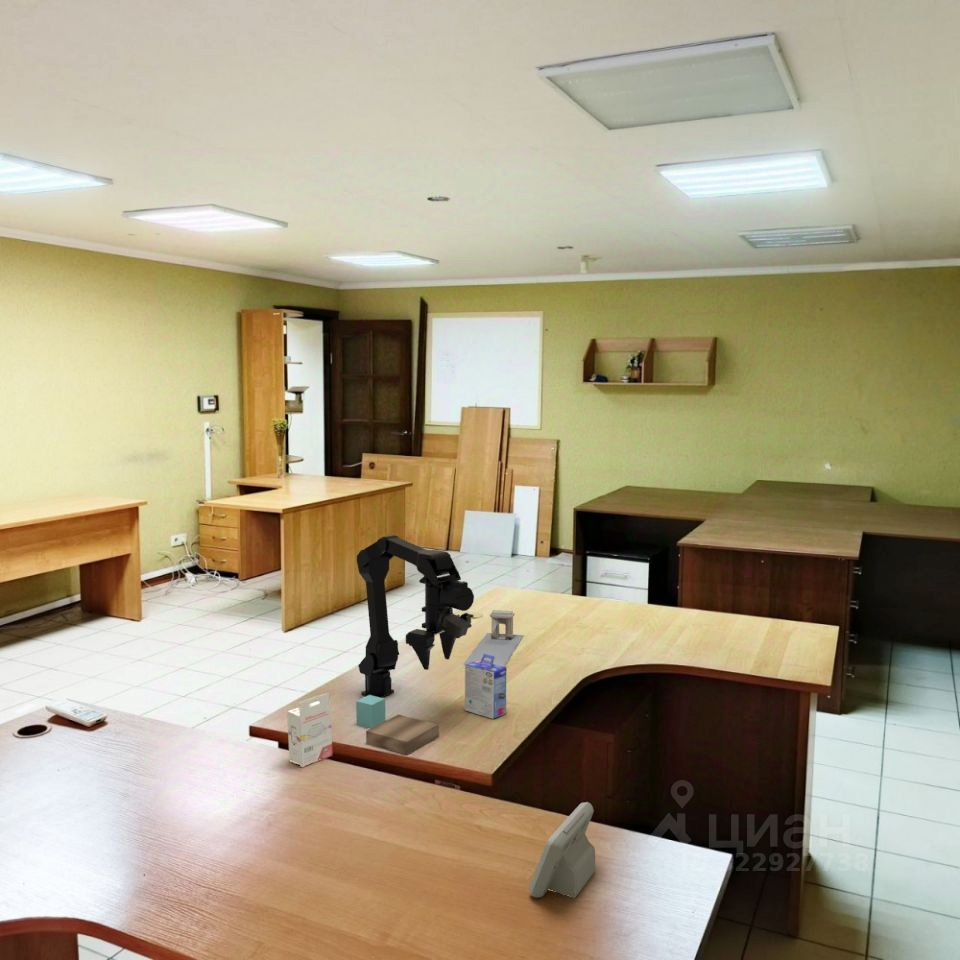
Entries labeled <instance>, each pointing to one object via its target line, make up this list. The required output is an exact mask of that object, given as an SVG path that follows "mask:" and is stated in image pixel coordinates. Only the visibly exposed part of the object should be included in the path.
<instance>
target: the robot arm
mask: <svg viewBox="0 0 960 960" xmlns="http://www.w3.org/2000/svg"><path fill="white" fill-rule="evenodd" d="M451 556H452V555H451V554H450V553H449V552H448V551H445V550H438V549H425V548H424V547H421V546H419V545H417V544H413V542H412V543H411V542H409V541H407V540H405V539H403V538H400V537H399V536H398V535H395V534H391V535H386V536H381V537H380V538H378V540H376V542H373V543H371V544H370V545H369V546H367V547H365V548H364V549H361V550H359V551H358V554H357V555H356V563H357V569H358V574H359V575H360V576H361V577H362V579H363V580H364V582H365V587H366V588H365V589H366V599H367V611H368V621H369V633H370V634H369V635H370V636H369V638H368V639H367V640H368V641H367V642H366V645H365V656H364V657H363V658H362V660H360V663H358V670H359V673H360V674H363V675H364V677H365V678H364V687H365V688H364V689H365V690H364V691H362V692H361V695H363V696H365V697H366V696H368V695H372V696H376V697H380V698H384V697H387V696H389V695H390V694H393V693H394V692H395V689H393V688H392V677H391V671H392V670H395V669H396V666H397V662H398V661H399V660H398V659H399V655H400V652H399V642H398V640H397V639H394V638H393V636H392V635H391V634H390V629H389V628H390V627H389V618H388V617H389V616H388V607H387V606H388V603H387V596H386V595H387V593H386V582H385V581H386V579H387V575H388V573H389V571H390V561H391V560H392V559H393V558H395V557H396V558H398V559H401V560H403V561H405V562H407V563H410V564H411V565H413V566H415V567H416V569H417V572H418V573H420V574H421V575H422V576H423V577H421V578H420V579H419V581H418V582H419V583H420V584H424V593H425V594H424V596H425V597H424V601H425V602H424V604H425V605H424V606H422V607H421V612H423V613H424V615H425V616H424V617H425V618H424V619H425V620H424V622H423V623H421V628H423V629H419V628H416V629H413V630H410V631H409V632H407V634H405V644H406V645H408V646H409V647H412V649H413V651H414V653H415V654H416V657H417V658H418V660H419V662H420V664H421V666H422V668H423V670H426V671H428V670H429V668H430V659H431V650H432V649H433V648H434V647H435V646H436V644H435V643H434V642H435V640H436V639H435V636H437V635H439V640H440V644H441V648H442V654H443V657H444V659H445V660H450V657H451V654H452V651H453V648H454V645H455V642H456V639H460V638H461V637H463V636H466V635H467V632H468V629H470V628H472V617H471V614H469V613H468V612H466V611H468V610H469V609H470V608H471V607H472V606H473V604H474V600H475V594H474V593H473V589H471V588H470V587H469V584H468V583H469V582H467V581H461V579H462V578H461V575H460V572H459V571H458V569H457V566H456V565H455V562H454V560H453V558H452V557H451ZM454 609H455V610H457V611H458V610H459V611H462V612H464V613H462V614H461V615H460V614H455V613H454V612H453V611H454ZM424 629H426V630H424Z"/></svg>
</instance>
